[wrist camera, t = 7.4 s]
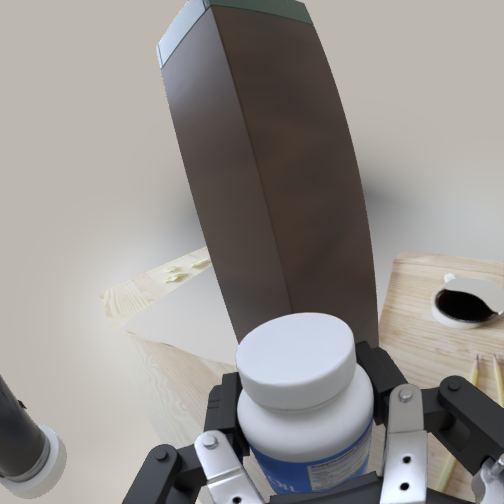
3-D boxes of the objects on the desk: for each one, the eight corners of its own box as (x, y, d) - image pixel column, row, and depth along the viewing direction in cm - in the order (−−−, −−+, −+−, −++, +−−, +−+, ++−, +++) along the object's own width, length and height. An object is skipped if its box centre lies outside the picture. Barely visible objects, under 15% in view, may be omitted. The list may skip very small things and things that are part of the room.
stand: (320, 448, 16) (211, 4, 9) (260, 406, 22) (160, 70, 15) (378, 389, 19) (314, 25, 12) (317, 363, 25) (248, 67, 18)
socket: (211, 4, 9) (202, -20, 8) (160, 70, 15) (155, 47, 14) (314, 25, 12) (304, 3, 12) (248, 67, 18) (242, 47, 18)
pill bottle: (255, 461, 13) (198, 336, 11) (332, 422, 15) (314, 288, 12) (297, 527, 8) (246, 430, 6) (386, 474, 10) (409, 335, 7)
